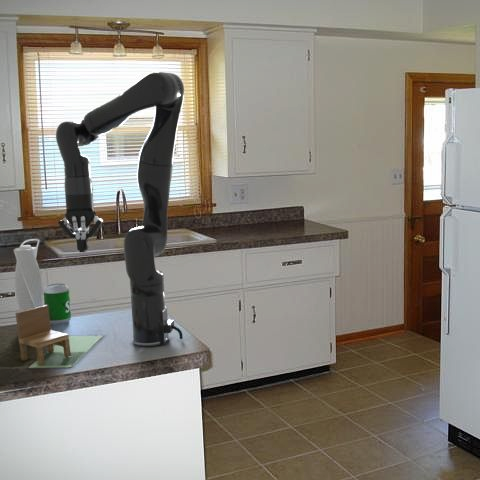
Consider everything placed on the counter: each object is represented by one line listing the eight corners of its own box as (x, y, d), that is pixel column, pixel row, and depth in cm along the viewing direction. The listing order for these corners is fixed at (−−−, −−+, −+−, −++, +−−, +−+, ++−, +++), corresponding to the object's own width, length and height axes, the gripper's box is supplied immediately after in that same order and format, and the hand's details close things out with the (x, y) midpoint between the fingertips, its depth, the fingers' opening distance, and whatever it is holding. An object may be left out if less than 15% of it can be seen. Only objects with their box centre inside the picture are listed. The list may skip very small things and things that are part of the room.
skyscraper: (39, 326, 224) (32, 237, 219) (52, 331, 219) (45, 239, 214) (14, 332, 218) (6, 240, 213) (27, 337, 213) (19, 243, 209)
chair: (70, 355, 194) (65, 308, 192) (40, 365, 187) (34, 317, 185) (51, 350, 200) (46, 304, 197) (21, 360, 193) (15, 312, 190)
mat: (103, 336, 213) (103, 335, 213) (71, 367, 186) (71, 366, 186) (65, 336, 213) (65, 336, 213) (28, 368, 186) (28, 367, 186)
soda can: (63, 326, 224) (60, 288, 222) (41, 325, 225) (38, 287, 224) (76, 319, 231) (73, 283, 229) (54, 318, 233) (51, 282, 231)
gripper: (50, 193, 204) (55, 254, 207) (98, 193, 204) (102, 253, 207) (60, 191, 211) (64, 249, 214) (105, 190, 211) (109, 249, 214)
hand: (83, 251), depth 210 cm, fingers closed
